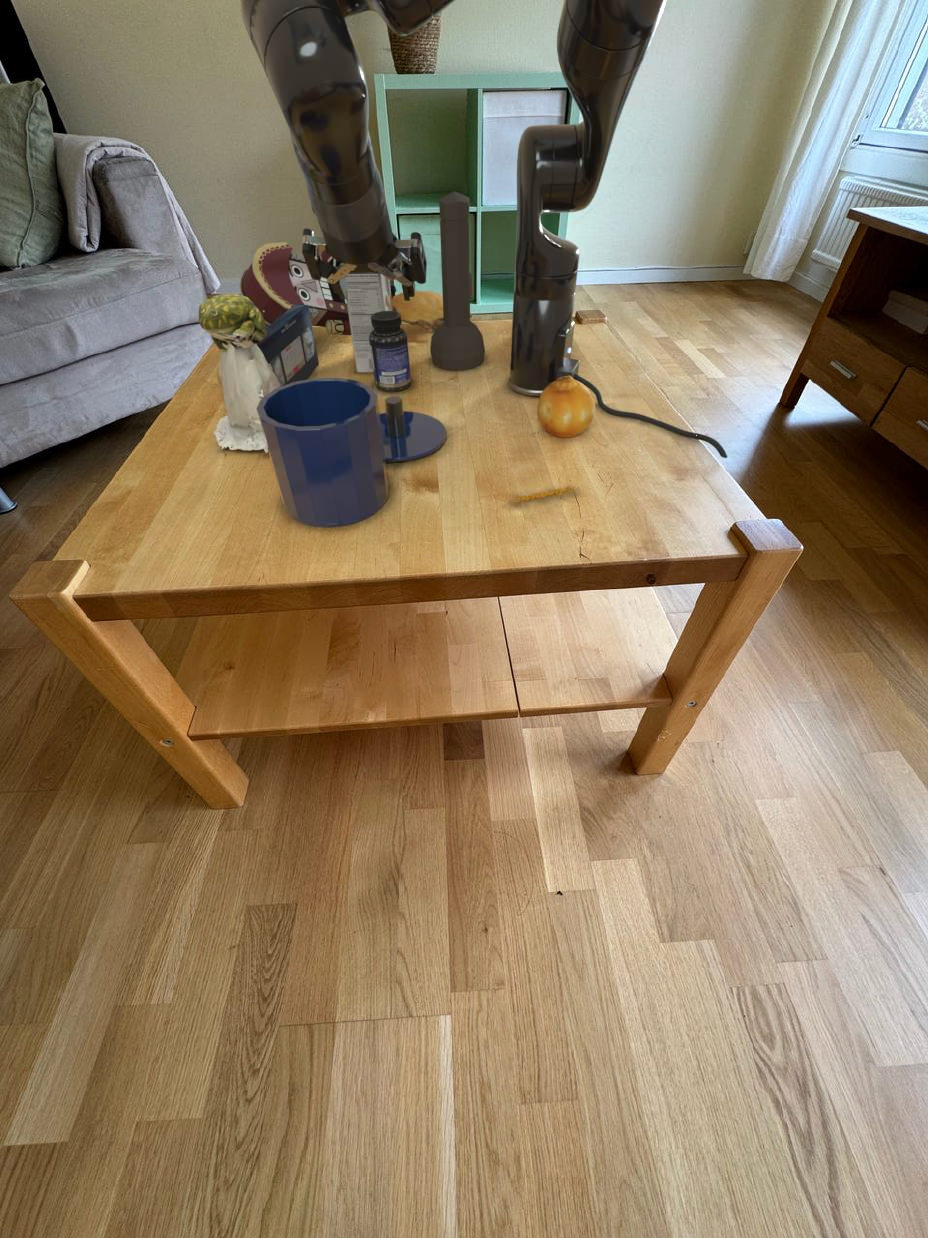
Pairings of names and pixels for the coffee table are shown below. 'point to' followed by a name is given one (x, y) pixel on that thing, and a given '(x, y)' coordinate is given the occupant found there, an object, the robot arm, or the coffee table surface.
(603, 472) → the coffee table surface
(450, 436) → the coffee table surface
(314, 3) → the robot arm
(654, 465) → the coffee table surface
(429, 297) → the orange wide rounded piece
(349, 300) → the coffee box
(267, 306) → the toy
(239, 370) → the frog
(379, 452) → the tin
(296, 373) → the vhs cassette tape
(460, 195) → the flashlight
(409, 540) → the coffee table surface
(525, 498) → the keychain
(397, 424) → the lid
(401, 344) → the pill bottle
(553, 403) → the fruit
